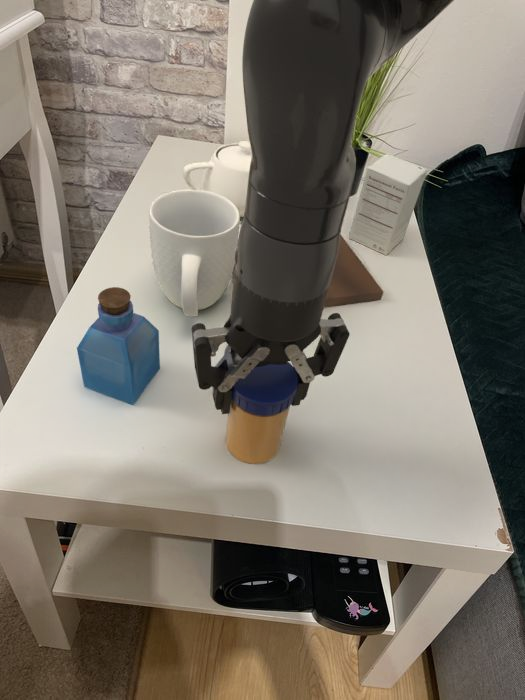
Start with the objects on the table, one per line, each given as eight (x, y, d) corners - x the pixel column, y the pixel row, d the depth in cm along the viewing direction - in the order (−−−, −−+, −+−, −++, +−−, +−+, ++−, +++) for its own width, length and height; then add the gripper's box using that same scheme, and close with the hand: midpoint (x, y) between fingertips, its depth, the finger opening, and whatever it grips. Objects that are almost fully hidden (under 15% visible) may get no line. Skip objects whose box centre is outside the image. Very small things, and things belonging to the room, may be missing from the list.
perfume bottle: (84, 386, 59) (68, 305, 50) (113, 351, 63) (104, 271, 55) (133, 405, 58) (125, 325, 49) (159, 368, 62) (157, 289, 54)
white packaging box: (366, 221, 92) (386, 152, 83) (404, 238, 89) (429, 168, 81) (346, 238, 87) (366, 166, 78) (386, 256, 85) (410, 184, 76)
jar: (269, 413, 59) (281, 354, 53) (288, 457, 55) (303, 399, 49) (218, 423, 57) (224, 363, 51) (234, 469, 54) (242, 411, 47)
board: (336, 238, 87) (338, 230, 86) (381, 299, 77) (384, 291, 76) (220, 249, 81) (220, 241, 80) (251, 317, 70) (253, 309, 69)
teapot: (192, 229, 84) (193, 165, 76) (173, 187, 93) (173, 126, 85) (316, 219, 91) (329, 159, 83) (288, 180, 99) (297, 123, 92)
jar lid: (232, 418, 48) (233, 405, 46) (224, 366, 52) (225, 352, 51) (302, 414, 49) (305, 401, 48) (288, 363, 53) (291, 350, 52)
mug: (232, 345, 66) (241, 260, 57) (144, 340, 65) (138, 252, 56) (232, 273, 77) (240, 192, 68) (156, 268, 76) (153, 184, 66)
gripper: (199, 306, 36) (193, 444, 48) (387, 293, 40) (338, 424, 52) (184, 243, 41) (181, 382, 53) (352, 237, 45) (314, 368, 57)
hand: (259, 402), depth 52 cm, fingers closed on jar lid, 6 cm apart
